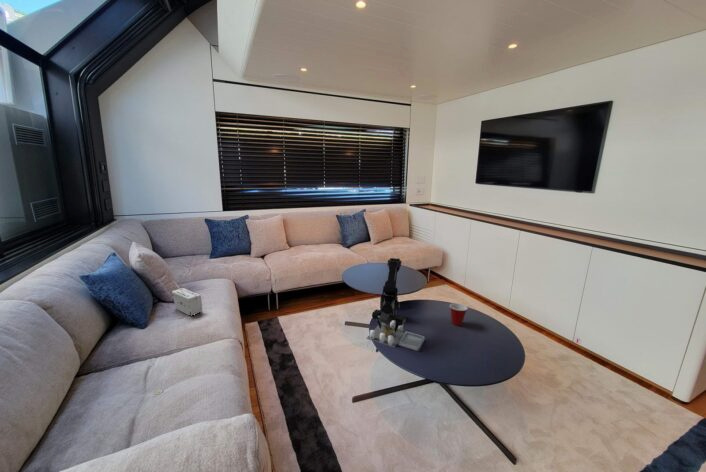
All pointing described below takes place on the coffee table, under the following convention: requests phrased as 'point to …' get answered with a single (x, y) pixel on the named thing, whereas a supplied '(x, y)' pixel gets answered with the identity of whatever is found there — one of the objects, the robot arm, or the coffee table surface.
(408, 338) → the nut tray
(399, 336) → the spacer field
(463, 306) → the plastic cup
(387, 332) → the tan faceted polyhedron
